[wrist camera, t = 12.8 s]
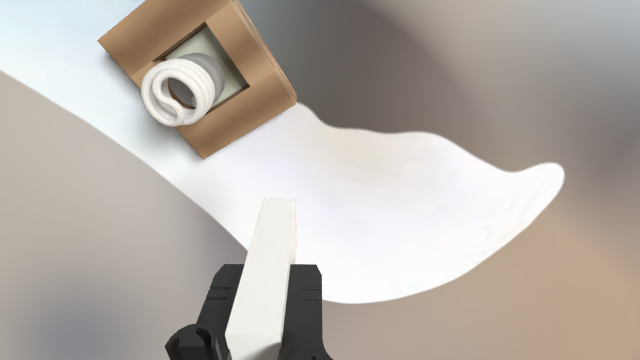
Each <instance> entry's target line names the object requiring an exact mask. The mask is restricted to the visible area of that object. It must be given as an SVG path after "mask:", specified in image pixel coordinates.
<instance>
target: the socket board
mask: <svg viewBox="0 0 640 360" xmlns="http://www.w3.org/2000/svg"><path fill="white" fill-rule="evenodd" d="M97 41H98V42H99V43H100V44H101V46H102V47H103V48H104V49H105V50H106V51H107V52H108V53H109V55H110V56H111V57H112V58H113V59H114V60H115V61H116V62H117V63H118V65H119V66H120V67H121V68H122V69H123V70H124V71H125V72H126V74H127V75H128V76H129V77H130V78H131V79H132V80H133V81H134V82H135V84H136V85H137V86H138V87H139V88H140V89H141V84H142V80H143V78H144V76H145V74H146V73H147V72H148V71H149V70H150V69H151V68H153V67H155V66H156V65H157V64H159V63H161V62H164V61H167V60H171V59H177V58H178V57H180V56H182V55H185V54H191V53H203V54H206V55H209V56H210V57H212V58H213V59H215V60H216V61H217V62H218V63H219V65H220V66H221V68H222V69H223V72H224V75H225V87H224V90H223V92H222V94H221V95H220V97H219V98H218V100H217V101H215V102H214V103H212V106H211V108H210V109H209V110H208V111H207V113H206V114H205V115H204V116H203V117H202V118H200V119H199V120H198V121H196V122H195V123H193V124H189V125H179V126H174V127H175V128H176V129H177V131H178V132H179V133H180V134H181V135H182V136H183V137H184V138H185V139H186V141H187V142H188V143H189V144H190V145H191V146H192V147H193V148H194V150H195V151H196V152H197V153H198V154H199V155H200V156H201V157H202V158H203V159H205V158H206V157H208V156H210V155H211V154H213V153H215V152H216V151H218V150H220V149H221V148H223V147H225V146H226V145H228V144H230V143H231V142H233V141H235V140H237V139H238V138H240V137H242V136H243V135H245V134H247V133H248V132H250V131H252V130H253V129H255V128H257V127H258V126H260V125H262V124H263V123H265V122H267V121H268V120H270V119H272V118H273V117H275V116H277V115H279V114H280V113H282V112H284V111H285V110H287V109H289V108H290V107H292V106H294V105H295V104H296V99H297V94H296V92H295V90H294V89H293V87H292V86H291V84H290V83H289V81H288V79H287V78H286V76H285V74H284V73H283V71H282V70H281V68H280V67H279V65H278V63H277V62H276V60H275V59H274V57H273V55H272V54H271V52H270V51H269V49H268V47H267V46H266V44H265V43H264V41H263V39H262V38H261V36H260V34H259V33H258V31H257V30H256V28H255V26H254V25H253V23H252V22H251V20H250V18H249V17H248V15H247V14H246V12H245V10H244V9H243V7H242V6H241V4H240V2H239V1H238V0H146V1H145V2H143V3H142V4H141V5H140V6H139V7H137V8H136V9H135V10H134V11H133V12H131V13H130V14H129V15H128V16H126V17H125V18H124V19H123V20H122V21H120V22H119V23H118V24H117V25H116V26H114V27H113V28H112V29H111V30H110V31H108V32H107V33H106V34H105V35H103V36H102V37H101V38H100V39H99V40H97ZM168 90H169V93H170V95H171V97H172V98H173V99H174V100H176V101H177V102H178V103H179V104H180V105H181V106H182V107H183V108H186V109H193V110H194V109H196V108H195V107H193V106H190V105H187V104H186V103H184V102H182V101H181V100H180V99H179V98H178V97H177V96H176V95H175V94H174V92H173V91H172V89H171V87H170V84H169V79H168Z"/></svg>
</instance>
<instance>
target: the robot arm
mask: <svg viewBox="0 0 640 360" xmlns="http://www.w3.org/2000/svg"><path fill="white" fill-rule="evenodd" d="M296 249H297V222H296V199H267V198H264V199H263V202H262V206H261V209H260V213H259V216H258V220H257V223H256V227H255V230H254V234H253V237H252V241H251V244H250V248H249V251H248V255H247V258H246V262H245V264H224V265H223V267H221V269H220V270H219V271H218V272H217V273H216V274H215V276H214V278H213V281H212V284H211V287H210V290H209V292H208V294H207V297H206V300H205V302H204V304H203V307H202V310H201V313H200V315H199V318H198V320H197V323H196V324H192V325H188V326H186V327H184V328H182V329H180V330H178V331H177V332H176V333H175V334H174V335H173V336H172V337H171V338H170V339H169V341H168V342H167V344H166V345H165V348H166V351H167V353H168V355H169V358H170V360H333V359H332V358H330V356H329V355H328V354H327V352H326V350H325V348H324V345H323V340H322V275H321V273H320V271H319V269H318V267H317V265H305V264H295V260H296Z"/></svg>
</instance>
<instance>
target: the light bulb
mask: <svg viewBox="0 0 640 360" xmlns="http://www.w3.org/2000/svg"><path fill="white" fill-rule="evenodd" d="M168 79H169V84H170V87H171V89H172V91H173V92H174V94H175V95H176V96H177V97H178V98H179V99H180V100H181V101H182V102H184V103H186V104H187V105H190V106H193V107H195V108H196V109H194V110H193V109H186V108H183V107H182V106H181V105H180V104H179V103H178V102H177V101H176V100H174V99H173V98H172V97H171V95H170V93H169V90H168ZM224 87H225V75H224V72H223V69H222V68H221V66H220V65H219V63H218V62H217V61H216V60H215V59H213V58H212V57H210V56H209V55H206V54H203V53H191V54H185V55H182V56H180V57H178V58H177V59H171V60H167V61H164V62H161V63H159V64H157V65H156V66H155V67H153V68H151V69H150V70H149V71H148V72H147V73H146V74H145V76H144V78H143V80H142V84H141V97H142V100H143V103H144V106H145V107H146V109H147V111H148V112H149V113H150V115H151V116H152V117H153V118H154V119H156V120H157V121H158V122H160V123H162V124H164V125H166V126H171V127H174V126H179V125H189V124H193V123H195V122H196V121H198V120H199V119H200V118H202V117H203V116H204V115H205V114H206V113H207V111H208V110H209V109H210V108H211V106H212V103H214V102H215V101H217V100H218V98H219V97H220V95H221V94H222V92H223V90H224Z"/></svg>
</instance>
